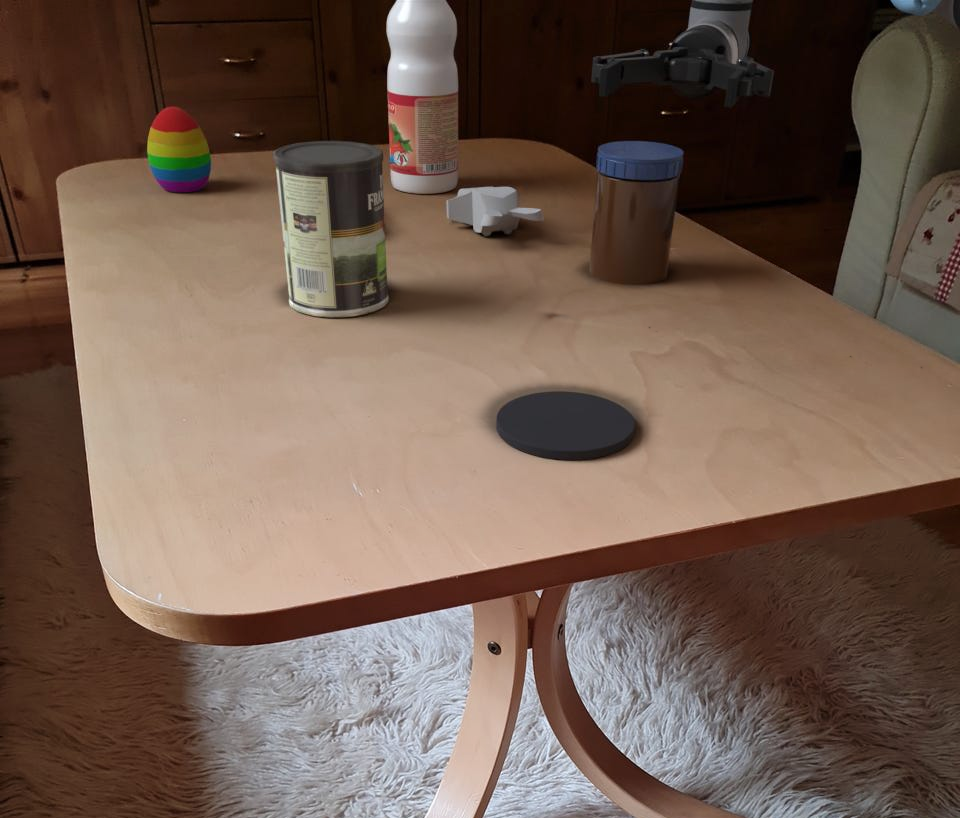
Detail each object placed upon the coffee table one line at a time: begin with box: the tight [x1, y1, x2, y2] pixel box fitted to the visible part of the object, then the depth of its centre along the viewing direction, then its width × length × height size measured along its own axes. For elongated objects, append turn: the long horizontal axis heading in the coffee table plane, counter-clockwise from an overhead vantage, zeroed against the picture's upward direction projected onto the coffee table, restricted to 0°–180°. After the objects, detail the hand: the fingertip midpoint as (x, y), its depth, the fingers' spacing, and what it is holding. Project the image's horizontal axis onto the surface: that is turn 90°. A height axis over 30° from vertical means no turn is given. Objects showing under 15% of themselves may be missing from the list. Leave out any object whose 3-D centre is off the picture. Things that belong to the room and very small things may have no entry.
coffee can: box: [272, 140, 390, 318], centre depth 99 cm, size 10×10×14 cm
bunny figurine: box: [445, 185, 545, 237], centre depth 123 cm, size 10×5×15 cm
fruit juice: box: [385, 0, 459, 195], centre depth 133 cm, size 9×9×28 cm
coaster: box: [495, 390, 636, 461], centre depth 80 cm, size 11×11×1 cm
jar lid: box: [595, 140, 685, 180], centre depth 103 cm, size 9×9×2 cm
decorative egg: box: [146, 106, 212, 193], centre depth 136 cm, size 8×8×10 cm
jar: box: [589, 170, 681, 286], centre depth 106 cm, size 8×8×13 cm
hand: (665, 87), depth 107 cm, fingers open, 13 cm apart
